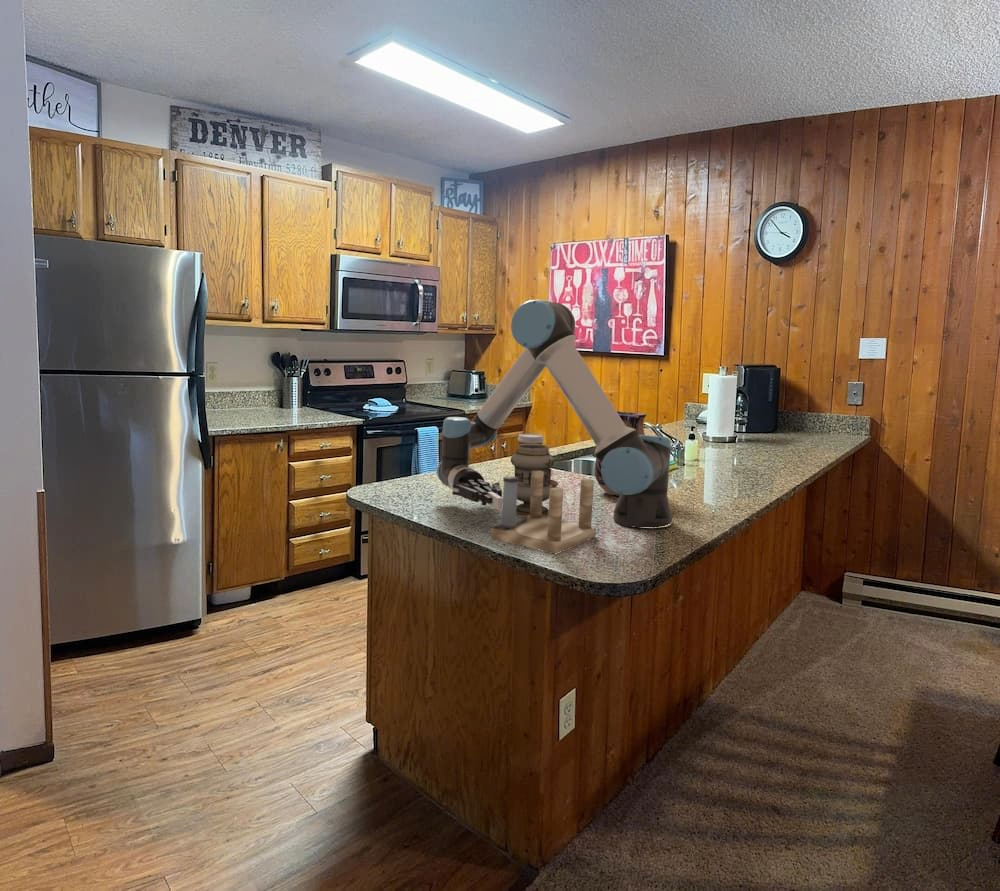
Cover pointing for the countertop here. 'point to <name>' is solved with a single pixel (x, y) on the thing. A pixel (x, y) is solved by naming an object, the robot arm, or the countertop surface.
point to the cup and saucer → (552, 480)
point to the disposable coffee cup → (530, 439)
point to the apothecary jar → (525, 463)
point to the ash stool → (550, 520)
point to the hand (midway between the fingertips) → (500, 503)
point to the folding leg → (510, 503)
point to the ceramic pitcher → (632, 422)
